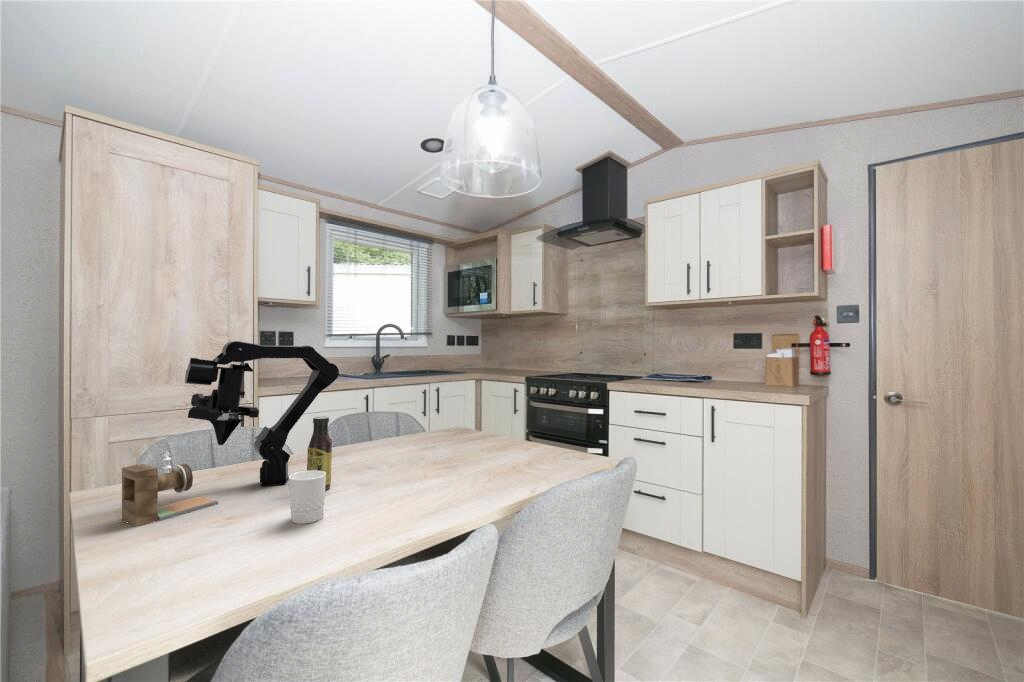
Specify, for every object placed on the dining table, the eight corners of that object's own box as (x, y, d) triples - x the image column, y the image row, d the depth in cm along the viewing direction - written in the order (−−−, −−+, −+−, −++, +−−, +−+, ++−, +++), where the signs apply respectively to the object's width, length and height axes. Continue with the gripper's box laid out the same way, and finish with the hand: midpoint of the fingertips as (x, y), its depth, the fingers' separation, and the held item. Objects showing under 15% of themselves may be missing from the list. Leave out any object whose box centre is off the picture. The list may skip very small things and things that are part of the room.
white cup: (289, 527, 102) (289, 481, 102) (287, 515, 109) (287, 472, 109) (327, 521, 106) (327, 477, 106) (324, 510, 113) (324, 468, 113)
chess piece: (181, 485, 132) (182, 449, 132) (167, 490, 127) (167, 454, 127) (165, 484, 133) (166, 449, 133) (150, 490, 128) (150, 453, 128)
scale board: (200, 498, 121) (200, 495, 121) (218, 503, 117) (218, 500, 117) (142, 514, 110) (142, 511, 110) (159, 520, 106) (159, 517, 106)
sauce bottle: (301, 491, 127) (301, 418, 127) (318, 484, 133) (318, 414, 133) (319, 494, 125) (320, 419, 125) (336, 487, 130) (337, 416, 130)
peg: (178, 488, 116) (178, 462, 116) (192, 492, 113) (192, 465, 113) (138, 498, 109) (138, 470, 109) (151, 503, 105) (152, 474, 105)
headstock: (142, 515, 110) (142, 463, 110) (157, 520, 106) (157, 467, 106) (121, 520, 106) (121, 467, 106) (136, 526, 103) (136, 471, 103)
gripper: (230, 384, 138) (222, 438, 137) (174, 382, 120) (164, 444, 118) (263, 388, 136) (255, 443, 134) (212, 387, 118) (201, 450, 116)
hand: (220, 444), depth 126 cm, fingers closed
